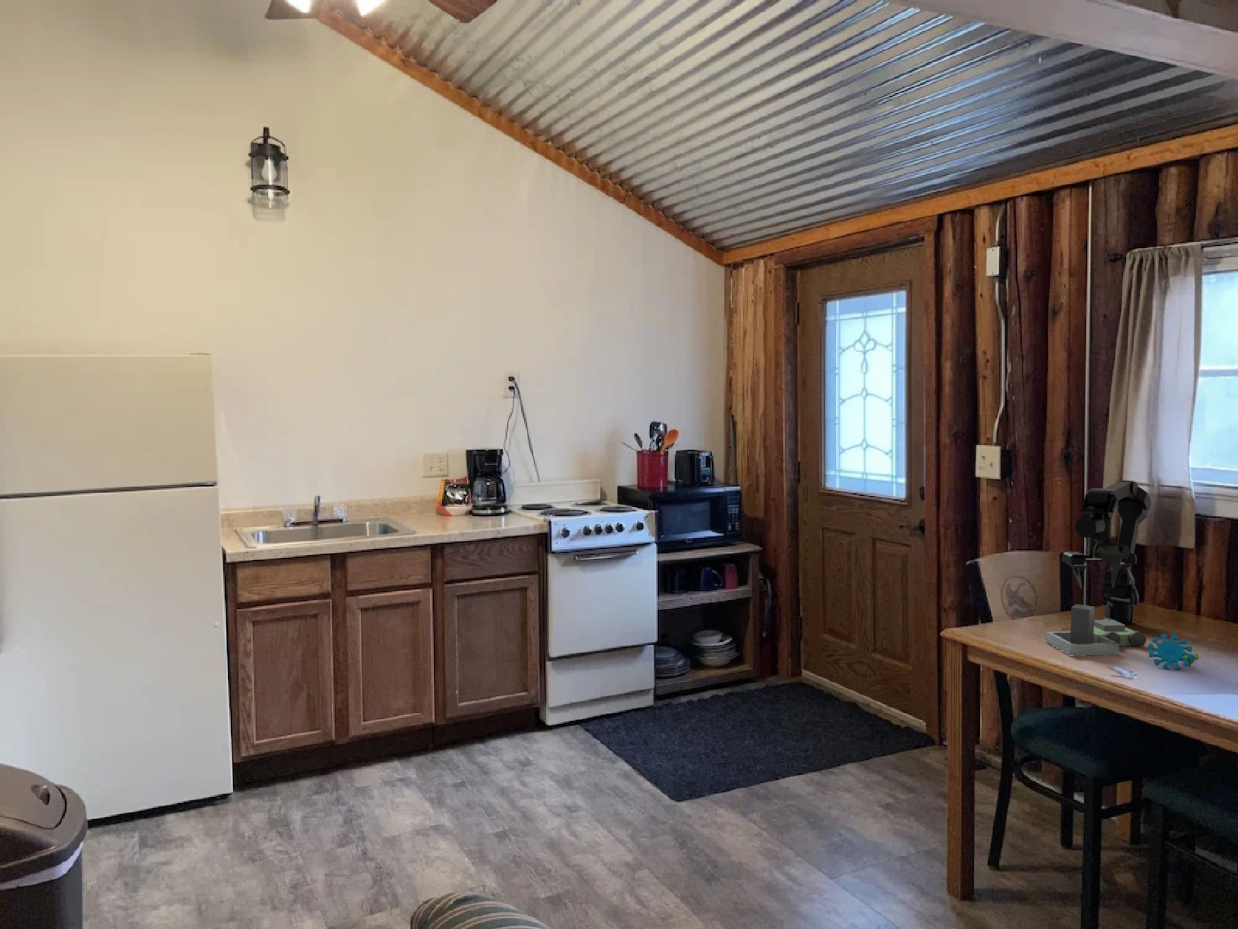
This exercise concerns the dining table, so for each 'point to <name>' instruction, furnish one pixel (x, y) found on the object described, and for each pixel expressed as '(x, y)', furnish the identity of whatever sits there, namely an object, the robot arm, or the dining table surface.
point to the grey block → (1082, 624)
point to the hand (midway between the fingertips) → (1097, 588)
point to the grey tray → (1082, 645)
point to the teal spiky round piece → (1172, 652)
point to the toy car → (1117, 633)
